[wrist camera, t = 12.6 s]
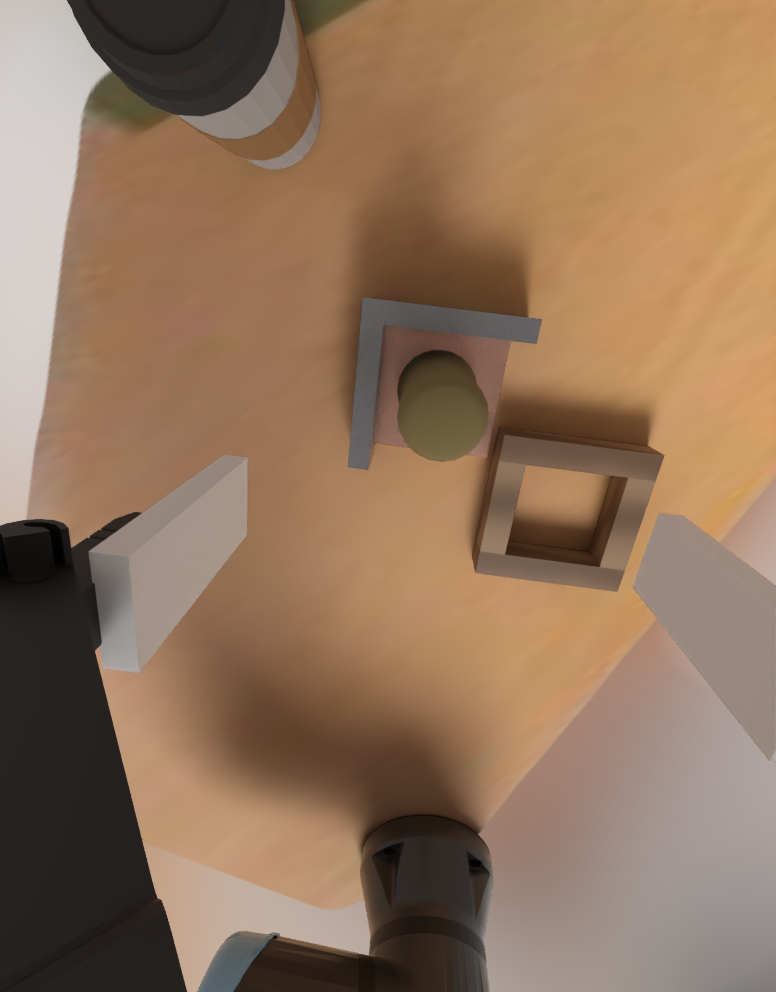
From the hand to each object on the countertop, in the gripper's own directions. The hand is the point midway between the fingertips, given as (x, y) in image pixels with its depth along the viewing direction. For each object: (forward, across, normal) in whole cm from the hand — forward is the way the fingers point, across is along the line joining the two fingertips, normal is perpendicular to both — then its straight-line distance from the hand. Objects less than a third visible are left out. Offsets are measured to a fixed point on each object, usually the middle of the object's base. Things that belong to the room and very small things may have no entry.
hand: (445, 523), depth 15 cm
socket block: (+23, -11, +7) cm, 26 cm away
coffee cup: (+23, +13, -17) cm, 31 cm away
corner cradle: (+23, 0, -1) cm, 23 cm away
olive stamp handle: (+23, 0, -1) cm, 23 cm away
